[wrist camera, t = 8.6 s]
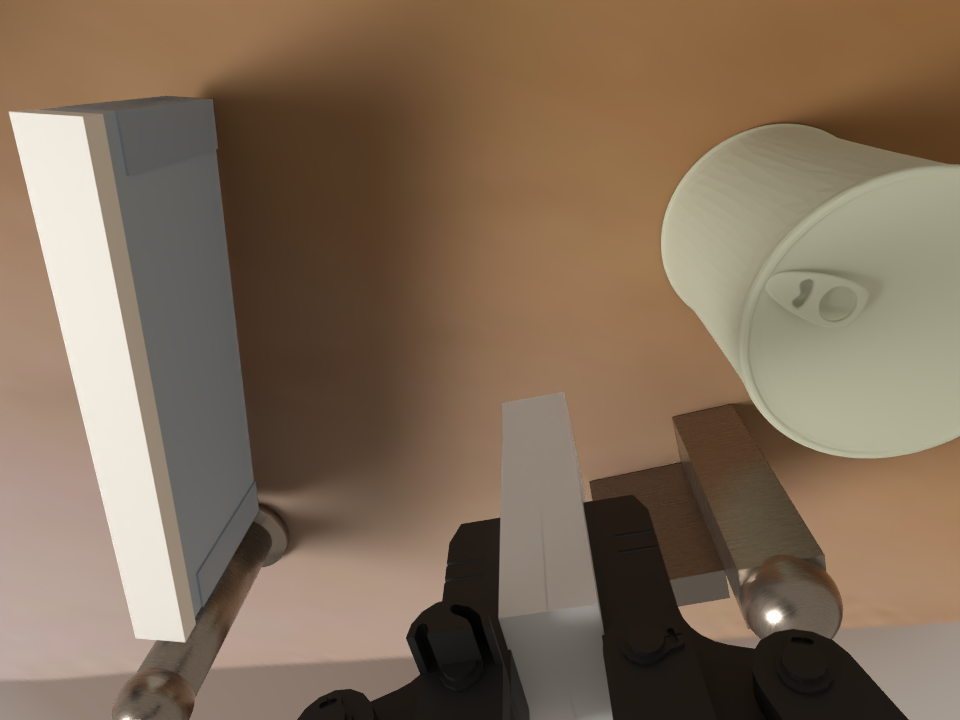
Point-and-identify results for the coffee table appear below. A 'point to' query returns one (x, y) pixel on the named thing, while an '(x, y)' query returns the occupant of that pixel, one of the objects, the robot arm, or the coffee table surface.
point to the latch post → (732, 528)
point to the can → (827, 284)
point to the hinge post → (201, 632)
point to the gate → (148, 337)
